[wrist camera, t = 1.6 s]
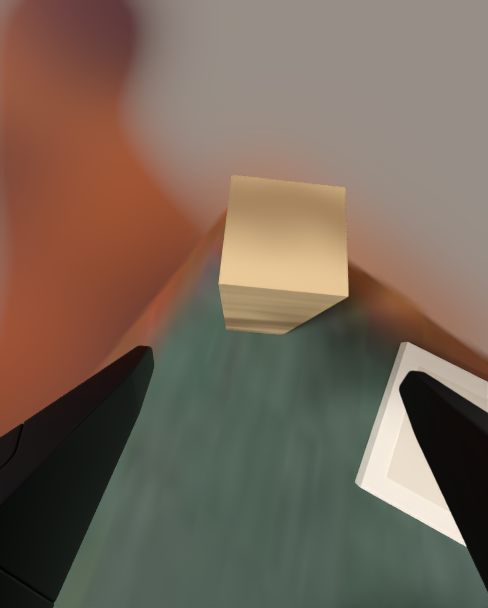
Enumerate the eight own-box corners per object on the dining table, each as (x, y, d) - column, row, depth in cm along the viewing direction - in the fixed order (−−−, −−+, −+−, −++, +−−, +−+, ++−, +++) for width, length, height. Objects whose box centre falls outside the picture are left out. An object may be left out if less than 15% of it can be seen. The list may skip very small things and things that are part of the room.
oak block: (282, 334, 21) (348, 296, 9) (226, 329, 20) (218, 283, 9) (285, 281, 22) (345, 187, 10) (231, 276, 22) (231, 174, 10)
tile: (506, 566, 17) (520, 576, 16) (354, 482, 18) (360, 487, 17) (532, 408, 20) (544, 410, 19) (401, 342, 21) (408, 341, 20)
